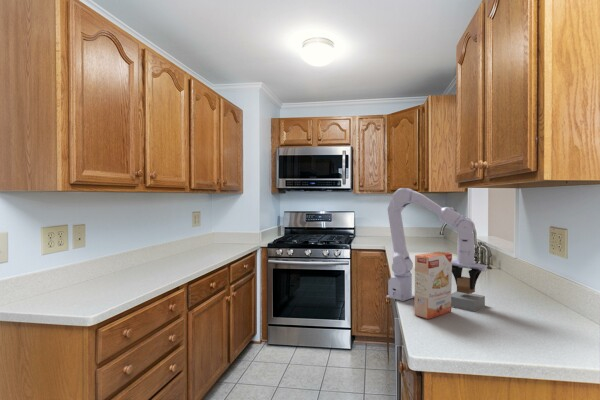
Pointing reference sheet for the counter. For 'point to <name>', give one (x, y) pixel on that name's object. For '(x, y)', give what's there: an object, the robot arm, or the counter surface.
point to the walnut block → (464, 285)
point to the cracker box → (433, 284)
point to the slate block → (467, 301)
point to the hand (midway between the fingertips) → (465, 287)
